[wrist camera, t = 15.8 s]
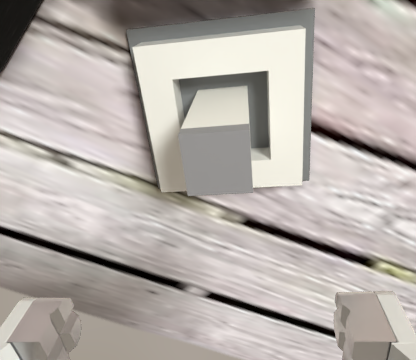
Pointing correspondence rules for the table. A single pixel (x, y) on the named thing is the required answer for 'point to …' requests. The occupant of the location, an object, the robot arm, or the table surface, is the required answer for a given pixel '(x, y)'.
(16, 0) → the camera
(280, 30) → the frame
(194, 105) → the plug
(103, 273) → the table surface
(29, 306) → the robot arm
